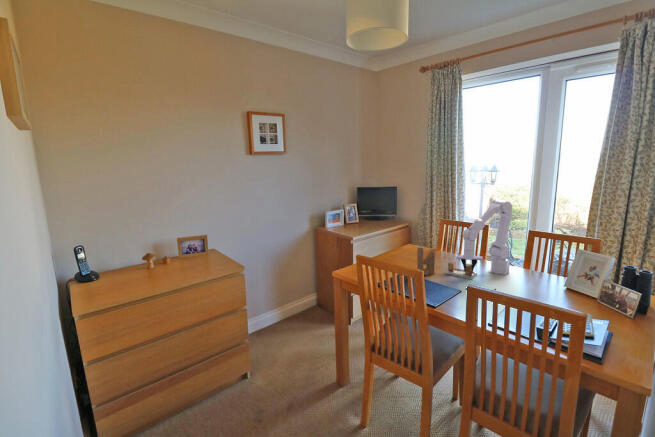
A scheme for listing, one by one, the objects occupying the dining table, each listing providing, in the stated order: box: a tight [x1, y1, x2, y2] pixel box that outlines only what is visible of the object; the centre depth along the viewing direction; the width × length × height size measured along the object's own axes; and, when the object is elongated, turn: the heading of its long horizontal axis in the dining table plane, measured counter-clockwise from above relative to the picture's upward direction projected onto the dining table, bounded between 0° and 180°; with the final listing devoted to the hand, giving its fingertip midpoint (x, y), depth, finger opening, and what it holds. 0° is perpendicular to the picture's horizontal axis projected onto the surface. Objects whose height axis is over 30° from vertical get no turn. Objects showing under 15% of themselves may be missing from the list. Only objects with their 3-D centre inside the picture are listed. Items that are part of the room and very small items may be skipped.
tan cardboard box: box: [465, 263, 472, 275], centre depth 184 cm, size 3×4×6 cm
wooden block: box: [416, 246, 436, 277], centre depth 188 cm, size 4×11×18 cm, turn 106°
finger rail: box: [446, 260, 478, 280], centre depth 186 cm, size 15×8×6 cm, turn 45°
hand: (468, 271), depth 183 cm, fingers closed on tan cardboard box, 3 cm apart
